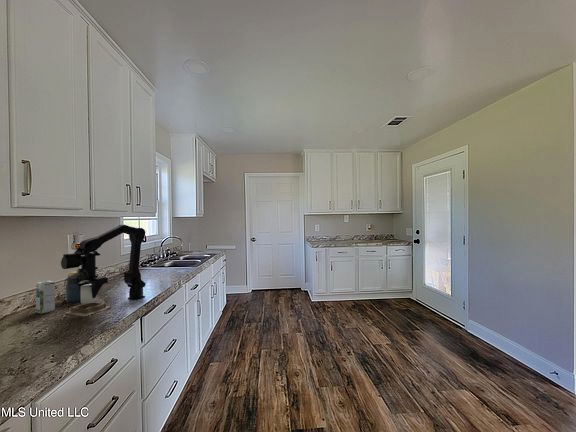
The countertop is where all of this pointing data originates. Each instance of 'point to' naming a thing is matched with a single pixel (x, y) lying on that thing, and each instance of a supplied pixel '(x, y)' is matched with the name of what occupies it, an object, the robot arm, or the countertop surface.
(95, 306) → the holder
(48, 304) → the syrup box
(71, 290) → the canister
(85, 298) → the towel roll
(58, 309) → the countertop surface
